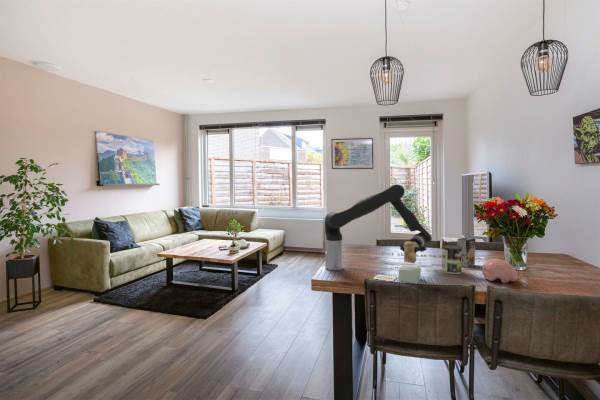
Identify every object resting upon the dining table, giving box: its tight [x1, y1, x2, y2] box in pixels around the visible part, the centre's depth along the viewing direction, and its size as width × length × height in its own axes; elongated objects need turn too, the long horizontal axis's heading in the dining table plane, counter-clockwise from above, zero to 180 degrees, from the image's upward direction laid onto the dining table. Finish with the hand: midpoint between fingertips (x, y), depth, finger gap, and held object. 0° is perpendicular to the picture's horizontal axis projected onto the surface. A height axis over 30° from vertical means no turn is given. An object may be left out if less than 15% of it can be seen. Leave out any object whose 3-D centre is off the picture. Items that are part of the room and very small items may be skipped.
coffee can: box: [441, 244, 462, 275], centre depth 181 cm, size 10×10×14 cm
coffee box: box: [456, 236, 476, 268], centre depth 193 cm, size 9×6×16 cm
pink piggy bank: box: [481, 258, 518, 284], centre depth 164 cm, size 16×13×12 cm
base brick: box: [398, 264, 422, 284], centre depth 168 cm, size 9×9×6 cm
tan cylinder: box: [403, 240, 417, 264], centre depth 167 cm, size 5×5×10 cm
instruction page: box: [372, 274, 397, 282], centre depth 171 cm, size 10×8×1 cm
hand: (409, 250), depth 165 cm, fingers closed on tan cylinder, 5 cm apart
